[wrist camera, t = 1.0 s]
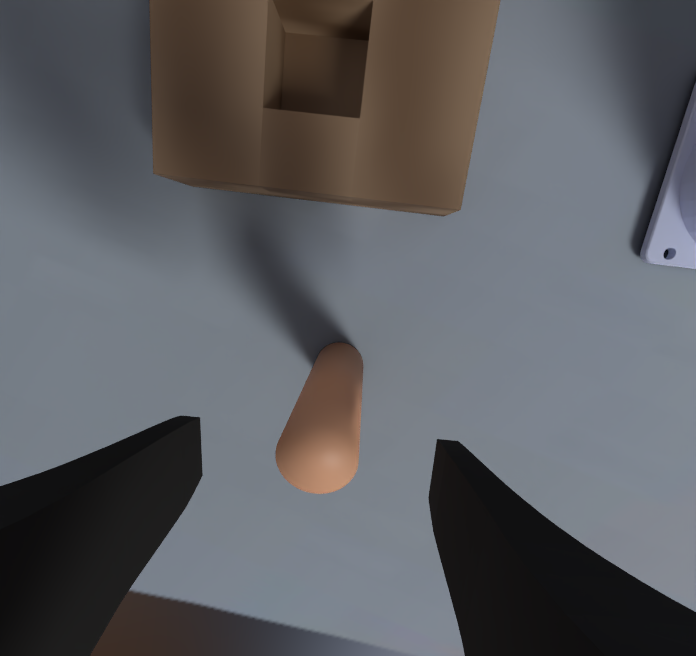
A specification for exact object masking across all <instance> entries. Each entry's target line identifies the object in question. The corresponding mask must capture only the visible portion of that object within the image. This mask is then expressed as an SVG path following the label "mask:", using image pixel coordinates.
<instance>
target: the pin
mask: <svg viewBox="0 0 696 656" xmlns="http://www.w3.org/2000/svg"><path fill="white" fill-rule="evenodd" d="M362 381H363V360H362V357H361V355H360V353H359V352H358V351H357V350H356V349H355V348H354V347H353V346H351V345H349V344H346V343H340V342H338V343H332V344H329V345H327V346H326V347H324V348H323V349H322V350H321V351H320V353H319V355H318V357H317V359H316V361H315V363H314V365H313V368H312V370H311V372H310V374H309V376H308V378H307V381H306V383H305V385H304V387H303V389H302V391H301V394H300V396H299V398H298V400H297V402H296V404H295V407H294V409H293V411H292V413H291V415H290V417H289V420H288V422H287V424H286V426H285V428H284V430H283V433H282V435H281V437H280V439H279V441H278V444H277V447H276V462H277V466H278V468H279V470H280V472H281V474H282V475H283V476H284V478H285V479H286V480H287V481H288V482H289V483H290V484H292V485H293V486H295V487H296V488H298V489H300V490H303V491H306V492H309V493H316V494H324V493H330V492H334V491H336V490H339V489H341V488H342V487H344V486H345V485H347V484H348V483H349V482H350V481H351V479H352V478H353V477H354V475H355V473H356V471H357V467H358V461H359V441H360V421H361V401H362Z"/></svg>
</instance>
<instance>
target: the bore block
mask: <svg viewBox="0 0 696 656" xmlns="http://www.w3.org/2000/svg"><path fill="white" fill-rule="evenodd" d="M149 4H150V49H151V93H152V137H153V174H156V175H159V176H162V177H165V178H168V179H171V180H174V181H177V182H181V183H184V184H187V185H190V186H193V187H202V188H210V189H219V190H227V191H235V192H244V193H252V194H261V195H269V196H277V197H286V198H294V199H303V200H311V201H320V202H328V203H336V204H345V205H353V206H362V207H370V208H378V209H387V210H395V211H404V212H412V213H421V214H429V215H437V216H446V215H448V214H451V213H454V212H456V211H459V210H461V205H462V200H463V194H464V189H465V184H466V179H467V173H468V168H469V163H470V158H471V152H472V147H473V142H474V137H475V131H476V126H477V121H478V116H479V110H480V105H481V100H482V95H483V89H484V84H485V79H486V74H487V68H488V63H489V58H490V53H491V47H492V42H493V37H494V32H495V26H496V21H497V16H498V11H499V5H500V0H149Z"/></svg>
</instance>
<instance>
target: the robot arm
mask: <svg viewBox="0 0 696 656" xmlns="http://www.w3.org/2000/svg"><path fill="white" fill-rule="evenodd" d="M666 249H668V255H667V257H666V258H664V256H663V254H664V252H665V250H666ZM640 256H641V259H642V260H643V261H644V262H646V263H650V264H659V265H667V266H675V267H683V268H692V269H696V82H695V85H694V88H693V91H692V94H691V98H690V101H689V104H688V107H687V110H686V113H685V116H684V119H683V122H682V125H681V128H680V131H679V135H678V138H677V141H676V144H675V147H674V150H673V153H672V156H671V159H670V162H669V165H668V168H667V171H666V175H665V178H664V181H663V184H662V187H661V190H660V193H659V196H658V199H657V202H656V205H655V208H654V211H653V215H652V218H651V221H650V224H649V227H648V230H647V233H646V236H645V239H644V242H643V245H642V248H641V253H640ZM201 477H202V454H201V431H200V417H190V416H178V417H175V418H172V419H169V420H167V421H164V422H162V423H160V424H157V425H155V426H153V427H150V428H148V429H146V430H144V431H141V432H139V433H137V434H134V435H132V436H130V437H128V438H125V439H123V440H121V441H119V442H116V443H114V444H112V445H110V446H107V447H105V448H102V449H100V450H97V451H95V452H93V453H90V454H88V455H85V456H83V457H80V458H78V459H75V460H73V461H71V462H68V463H66V464H63V465H60V466H58V467H55V468H52V469H50V470H47V471H44V472H41V473H39V474H36V475H33V476H30V477H27V478H24V479H21V480H18V481H15V482H12V483H9V484H6V485H3V486H0V656H90V655H91V653H92V651H93V649H94V648H95V646H96V644H97V642H98V641H99V639H100V637H101V636H102V634H103V632H104V630H105V628H106V627H107V625H108V623H109V622H110V620H111V618H112V617H113V615H114V613H115V611H116V610H117V608H118V606H119V604H120V603H121V601H122V600H123V598H124V597H125V595H126V594H127V592H128V591H129V589H130V588H131V586H132V584H133V583H134V582H135V580H136V579H137V577H138V576H139V574H140V573H141V572H142V570H143V569H144V567H145V566H146V564H147V563H148V561H149V560H150V559H151V557H152V556H153V554H154V553H155V551H156V550H157V549H158V547H159V546H160V544H161V543H162V541H163V540H164V539H165V537H166V536H167V534H168V533H169V531H170V530H171V528H172V527H173V526H174V524H175V523H176V521H177V520H178V518H179V517H180V515H181V514H182V512H183V511H184V509H185V508H186V506H187V504H188V502H189V501H190V499H191V497H192V495H193V493H194V491H195V489H196V487H197V485H198V483H199V481H200V479H201ZM429 505H430V512H431V519H432V525H433V532H434V536H435V540H436V544H437V548H438V551H439V555H440V559H441V563H442V566H443V570H444V574H445V577H446V581H447V585H448V588H449V592H450V596H451V599H452V603H453V607H454V611H455V614H456V618H457V622H458V626H459V630H460V634H461V639H462V643H463V648H464V654H465V656H696V612H694V611H693V610H691V609H689V608H687V607H685V606H683V605H682V604H680V603H678V602H676V601H674V600H672V599H671V598H669V597H667V596H665V595H664V594H662V593H660V592H659V591H657V590H655V589H653V588H652V587H650V586H648V585H646V584H645V583H643V582H641V581H640V580H638V579H636V578H635V577H633V576H632V575H630V574H628V573H627V572H625V571H624V570H622V569H620V568H619V567H617V566H616V565H614V564H612V563H611V562H609V561H608V560H606V559H604V558H603V557H601V556H600V555H598V554H597V553H595V552H594V551H592V550H591V549H589V548H588V547H586V546H585V545H583V544H582V543H580V542H579V541H578V540H576V539H575V538H573V537H572V536H571V535H569V534H568V533H566V532H565V531H563V530H562V529H561V528H559V527H558V526H556V525H555V524H554V523H552V522H551V521H550V520H548V519H547V518H546V517H545V516H543V515H542V514H541V513H539V512H538V511H537V510H536V509H535V508H533V507H532V506H531V505H530V504H528V503H527V502H526V501H525V500H523V499H522V498H521V497H520V496H519V495H517V494H516V493H515V492H514V491H513V490H512V489H510V488H509V487H508V486H507V485H506V484H505V483H504V482H502V481H501V480H500V479H499V478H498V477H497V476H496V475H495V474H494V473H492V472H491V471H490V470H489V469H488V468H487V467H486V466H485V465H484V464H483V463H482V462H481V461H480V460H478V459H477V458H476V457H475V456H474V455H473V454H472V453H471V452H470V451H469V450H468V449H467V448H466V447H464V446H463V445H462V444H461V443H460V442H458V441H451V440H440V439H437V444H436V451H435V457H434V464H433V471H432V478H431V485H430V491H429Z"/></svg>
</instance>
